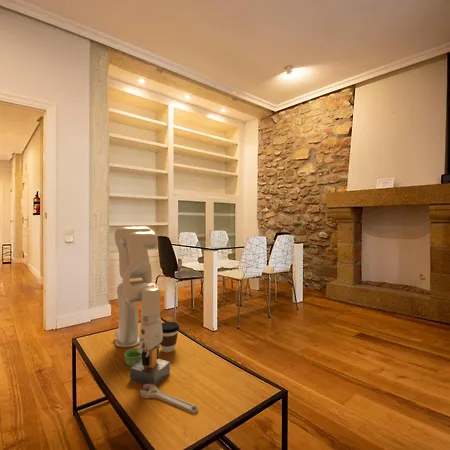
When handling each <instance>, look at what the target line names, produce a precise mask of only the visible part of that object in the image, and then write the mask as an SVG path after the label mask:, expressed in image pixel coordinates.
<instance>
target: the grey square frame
mask: <svg viewBox="0 0 450 450" xmlns="http://www.w3.org/2000/svg"><path fill="white" fill-rule="evenodd" d="M170 369H171V361H167V360H164V359H161V358H158V359H157V366H155V367H154V368H153V369H152V368H148V367H144V365H142V360H141V361H140V362H138V363H137V364H135V365H134V366H130V369H129V371H130V372H129V377H130V381H132V382H136V383H139V384H141V385H145V384H154V385H155V386H156V387H157V386H158V384H160V383H161V382H162V381H163V380H164V379H165V378H167V377H168V376H169V375H170V374H171V373H170V372H171V370H170Z"/></svg>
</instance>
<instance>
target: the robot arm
mask: <svg viewBox="0 0 450 450" xmlns="http://www.w3.org/2000/svg"><path fill="white" fill-rule="evenodd" d="M114 243H115V245H116V247H117V250H118V262H119V263H118V268H119V275H120V277H121V279H122V282H120V283H119V284H118V285H117V287H116V294H117V302H118V330H116V331H115V333H114V334H113V336H114V337H117V338H116V340H115V345H116V346H117V347H119V348H132V347H135V346H137V345H138V347H137V348H138V350H137V352H138V353H140V354H141V356H142V365H145V366H149V356H148V355H149V350H151V349H152V348H154V347H157V359H160V349H161V345H160V343H161V342H162V340H163V330H162V323H163V322H162V319H161V289H160V288H159V286H158V285H157V283H155V282H153V274H152V272H153V271H152V265H151V262H150V257H149V252H148V250H154V249H156V248H157V247H158V244H159V239H158V235H157V234H156V232H155V231H154V230H152V229H151V228H150V227H148V226H123V227H118V228H116V230H115V231H114ZM140 278H141V280H131V279H140ZM136 303H141V304H140V305H141V307H140V310H141V311H140V316H141V318H140V321H141V323H140V328H139V307H138V305H137V304H136ZM145 350H146V352H144V351H145Z"/></svg>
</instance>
